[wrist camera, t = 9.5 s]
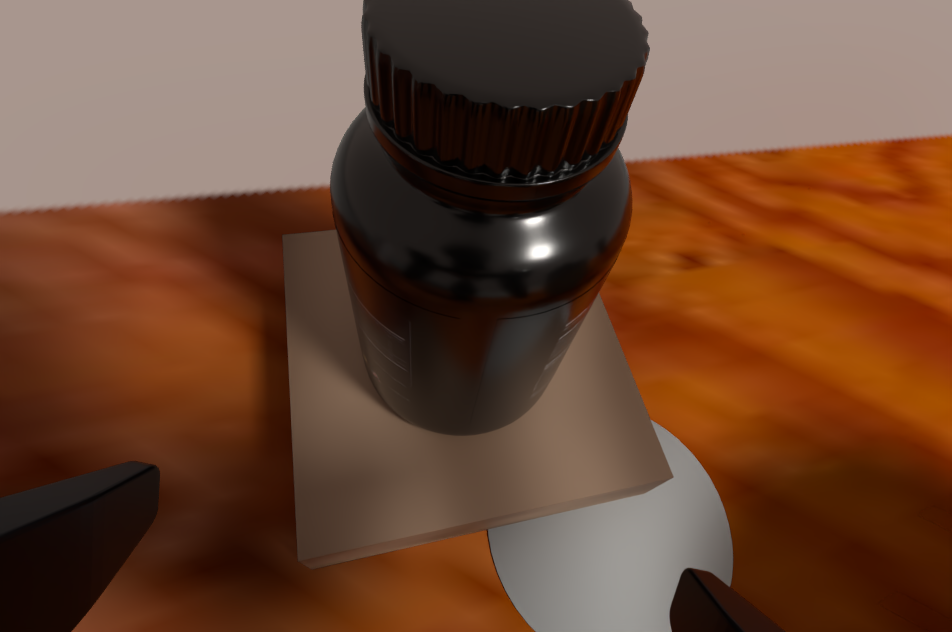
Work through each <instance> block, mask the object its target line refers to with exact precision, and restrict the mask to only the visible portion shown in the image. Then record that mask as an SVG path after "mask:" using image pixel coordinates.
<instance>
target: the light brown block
mask: <svg viewBox="0 0 952 632" xmlns="http://www.w3.org/2000/svg"><path fill="white" fill-rule="evenodd" d="M282 240H283V261H284V282H285V303H286V324H287V345H288V366H289V387H290V408H291V429H292V450H293V471H294V492H295V513H296V534H297V555H298V562H300V563H302V564H303V565H305V566H307V567H309V568H310V569H316V568H320V567H325V566H329V565H334V564H338V563H342V562H347V561H351V560H356V559H360V558H364V557H369V556H373V555H378V554H382V553H386V552H391V551H395V550H399V549H404V548H408V547H413V546H417V545H421V544H426V543H430V542H435V541H439V540H443V539H448V538H452V537H457V536H461V535H465V534H470V533H474V532H479V531H483V530H487V529H491V528H496V527H500V526H505V525H509V524H513V523H518V522H522V521H527V520H531V519H535V518H540V517H544V516H549V515H553V514H557V513H562V512H566V511H571V510H575V509H579V508H584V507H588V506H593V505H597V504H601V503H606V502H610V501H615V500H619V499H623V498H628V497H632V496H637V495H641V494H645V493H647V492H648V491H650V490H652V489H654V488H656V487H657V486H659V485H661V484H663V483H665V482H666V481H668V480H670V479H672V478H674V476H673V474H672V471H671V469H670V467H669V464H668V462H667V459H666V457H665V454H664V452H663V449H662V447H661V444H660V442H659V440H658V437H657V435H656V432H655V430H654V427H653V425H652V422H651V420H650V417H649V415H648V412H647V410H646V408H645V405H644V403H643V400H642V398H641V395H640V393H639V390H638V388H637V385H636V383H635V380H634V378H633V376H632V373H631V371H630V368H629V366H628V363H627V361H626V358H625V356H624V353H623V351H622V349H621V346H620V344H619V341H618V339H617V336H616V334H615V331H614V329H613V326H612V324H611V321H610V319H609V317H608V314H607V312H606V309H605V307H604V304H603V302H602V299H601V297H600V294H599V293H598V295H597V297H596V299H595V301H594V302H593V304H592V306H591V308H590V310H589V312H588V314H587V315H586V317H585V319H584V321H583V323H582V325H581V326H580V328H579V330H578V332H577V334H576V336H575V338H574V339H573V341H572V343H571V345H570V347H569V349H568V350H567V352H566V354H565V356H564V358H563V360H562V361H561V363H560V365H559V367H558V369H557V371H556V373H555V374H554V376H553V378H552V380H551V381H550V383H549V385H548V386H547V388H546V390H545V391H544V393H543V394H542V396H541V397H540V398H539V400H538V401H537V402H536V403H535V405H534V406H533V407H532V408H531V409H530V410H529V411H528V412H527V413H525V414H524V415H523V416H522V417H520V418H519V419H517V420H516V421H514V422H513V423H511V424H509V425H507V426H505V427H503V428H500V429H498V430H495V431H492V432H488V433H484V434H479V435H471V436H452V435H444V434H439V433H435V432H431V431H428V430H425V429H423V428H420V427H418V426H416V425H414V424H412V423H410V422H408V421H407V420H405V419H404V418H402V417H401V416H399V415H398V414H397V413H396V412H394V411H393V410H392V409H391V408H390V407H389V406H388V405H387V404H386V403H385V402H384V401H383V399H382V398H381V397H380V396H379V394H378V393H377V391H376V390H375V388H374V386H373V384H372V382H371V380H370V378H369V376H368V373H367V370H366V367H365V363H364V359H363V356H362V351H361V347H360V342H359V338H358V333H357V328H356V323H355V318H354V314H353V309H352V304H351V299H350V294H349V290H348V285H347V280H346V275H345V271H344V266H343V261H342V256H341V251H340V247H339V242H338V237H337V232H336V230H328V231H317V232H307V233H296V234H286V235H282Z"/></svg>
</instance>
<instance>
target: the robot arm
mask: <svg viewBox="0 0 952 632" xmlns="http://www.w3.org/2000/svg"><path fill="white" fill-rule="evenodd" d="M159 483H160V471H159V468H158V467H157V466H156V465H153V464H148V463H143V462H138V461H130V462H126V463H122V464H119V465H115V466H112V467H108V468H105V469H101V470H98V471H94V472H91V473H87V474H83V475H80V476H76V477H73V478H69V479H66V480H62V481H59V482H55V483H52V484H48V485H44V486H41V487H37V488H34V489H30V490H27V491H23V492H20V493H16V494H13V495H9V496H5V497H2V498H0V632H71V631H72V630H73V629H74V628H75V627H76V626H77V624H78V623H79V622H80V621H81V620H82V618H83V617H84V616H85V615H86V614H87V612H88V611H89V610H90V609H91V608H92V606H93V605H94V604H95V602H96V601H97V600H98V598H99V597H100V596H101V594H102V593H103V592H104V590H105V589H106V587H107V586H108V585H109V583H110V582H111V580H112V579H113V578H114V576H115V575H116V573H117V572H118V571H119V569H120V568H121V566H122V565H123V564H124V562H125V561H126V559H127V558H128V557H129V555H130V554H131V552H132V551H133V550H134V548H135V547H136V546H137V544H138V543H139V541H140V540H141V539H142V537H143V536H144V534H145V533H146V532H147V530H148V529H149V527H150V526H151V524H152V523H153V521H154V519H155V517H156V514H157V510H158V499H159ZM669 619H670V626H671V631H672V632H785V631H784V630H783V629H782V628H780V627H779V626H778V625H777V624H775V623H774V622H773V621H772V620H770V619H769V618H768V617H767V616H765V615H764V614H763V613H762V612H760V611H759V610H758V609H757V608H755V607H754V606H753V605H752V604H750V603H749V602H748V601H747V600H745V599H744V598H743V597H742V596H740V595H739V594H738V593H737V592H735V591H734V590H733V589H732V588H730V587H729V586H728V585H727V584H725V583H724V582H723V581H722V580H720V579H719V578H718V577H717V576H715V575H714V574H713V573H711V572H709V571H705V570H700V569H694V568H686V569H684V570H683V572H682V574H681V576H680V579H679V582H678V585H677V588H676V591H675V594H674V597H673V600H672V603H671V606H670V612H669Z"/></svg>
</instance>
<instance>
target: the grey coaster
mask: <svg viewBox="0 0 952 632" xmlns="http://www.w3.org/2000/svg"><path fill="white" fill-rule="evenodd" d="M651 422H652V425H653V427H654V430H655V432H656V435H657V437H658V440H659V442H660V444H661V447H662V449H663V452H664V454H665V457H666V459H667V462H668V464H669V467H670V469H671V471H672V474H673V476H674V478H672V479H670V480H668V481H666V482H665V483H663V484H661V485H659V486H657V487H656V488H654V489H652V490H650V491H648V492H647V493H645V494H641V495H637V496H632V497H628V498H623V499H619V500H615V501H610V502H606V503H601V504H597V505H593V506H588V507H584V508H579V509H575V510H571V511H566V512H562V513H557V514H553V515H549V516H544V517H540V518H535V519H531V520H527V521H522V522H518V523H513V524H509V525H505V526H500V527H496V528H491V529H488V537H489V542H490V547H491V553H492V557H493V560H494V563H495V566H496V570H497V573H498V575H499V577H500V580H501V582H502V584H503V586H504V589H505V591H506V592H507V594H508V596H509V597H510V599H511V601H512V603H513V604H514V606H515V608H516V609H517V610H518V611H519V613H520V614H521V615H522V617H523V618H524V619H525V621H526V622H527V623H528V624H529V625H530V626H531V627H532V628H533V629H534V630H535V631H536V632H672V631H671V626H670V619H669V612H670V606H671V603H672V600H673V597H674V594H675V591H676V588H677V585H678V582H679V579H680V576H681V574H682V572H683V570H684V569H686V568H694V569H700V570H705V571H709V572H711V573H713V574H714V575H715V576H717V577H718V578H719V579H720V580H722V581H723V582H724V583H725V584H727V585H728V586H729V587H730V586H731V580H732V571H733V549H732V539H731V533H730V527H729V523H728V520H727V516H726V513H725V509H724V507H723V504H722V502H721V499H720V497H719V494H718V492H717V490H716V488H715V486H714V485H713V483H712V481H711V479H710V477H709V476H708V474H707V473H706V471H705V470H704V468H703V467H702V465H701V464H700V463H699V461H698V460H697V459H696V458H695V456H694V455H693V454H692V453H691V452H690V451H689V450H688V449H687V448H686V447H685V446H684V445H683V444H682V443H681V442H680V441H679V440H678V439H677V438H676V437H675V436H673V435H672V434H671V433H670V432H668V431H667V430H666V429H664V428H663V427H661V426H660V425H658V424H657V423H655V422H654V421H652V420H651Z"/></svg>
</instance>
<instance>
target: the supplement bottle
mask: <svg viewBox="0 0 952 632" xmlns="http://www.w3.org/2000/svg"><path fill="white" fill-rule="evenodd" d="M361 26H362V39H363V51H364V62H365V70H366V74H365V78H364V98H365V106H366V107H365V108H364V109H363V110H362V111H361V113H360V114H359V115H358V116H357V117H356V118H355V120H354V121H353V122H352V124H351V125H350V127H349V128H348V130H347V131H346V133H345V134H344V136H343V138H342V140H341V143H340V145H339V147H338V149H337V152H336V155H335V158H334V161H333V166H332V171H331V178H330V179H331V180H330V193H331V203H332V210H333V217H334V222H335V227H336V232H337V237H338V242H339V247H340V251H341V256H342V261H343V266H344V271H345V275H346V280H347V285H348V290H349V294H350V299H351V304H352V309H353V314H354V318H355V323H356V328H357V333H358V338H359V342H360V347H361V351H362V356H363V359H364V363H365V367H366V370H367V373H368V376H369V378H370V380H371V382H372V384H373V386H374V388H375V390H376V391H377V393H378V394H379V396H380V397H381V398H382V399H383V401H384V402H385V403H386V404H387V405H388V406H389V407H390V408H391V409H392V410H393V411H394V412H396V413H397V414H398V415H399V416H401V417H402V418H404V419H405V420H407V421H408V422H410V423H412V424H414V425H416V426H418V427H420V428H423V429H425V430H428V431H431V432H435V433H439V434H444V435H452V436H471V435H479V434H484V433H488V432H492V431H495V430H498V429H500V428H503V427H505V426H507V425H509V424H511V423H513V422H514V421H516V420H517V419H519V418H520V417H522V416H523V415H524V414H525V413H527V412H528V411H529V410H530V409H531V408H532V407H533V406H534V405H535V403H536V402H537V401H538V400H539V398H540V397H541V396H542V394H543V393H544V391H545V390H546V388H547V386H548V385H549V383H550V381H551V380H552V378H553V376H554V374H555V373H556V371H557V369H558V367H559V365H560V363H561V361H562V360H563V358H564V356H565V354H566V352H567V350H568V349H569V347H570V345H571V343H572V341H573V339H574V338H575V336H576V334H577V332H578V330H579V328H580V326H581V325H582V323H583V321H584V319H585V317H586V315H587V314H588V312H589V310H590V308H591V306H592V304H593V302H594V301H595V299H596V297H597V295H598V293H599V291H600V290H601V288H602V286H603V284H604V282H605V280H606V278H607V277H608V275H609V273H610V271H611V269H612V267H613V265H614V264H615V262H616V260H617V258H618V255H619V253H620V251H621V249H622V246H623V244H624V242H625V239H626V237H627V234H628V230H629V227H630V221H631V215H632V192H631V184H630V179H629V175H628V171H627V167H626V165H625V162H624V159H623V157H622V155H621V152H620V150H619V148H618V147H619V144H620V142H621V140H622V137H623V135H624V132H625V129H626V126H627V120H628V112H629V109H630V107H631V104H632V102H633V99H634V97H635V94H636V92H637V89H638V87H639V84H640V82H641V79H642V77H643V74H644V69H645V65H646V62H647V59H648V55H649V51H650V47H649V45H648V43H647V38H648V31H647V30H646V29H645V27H644V26H643V25H642V17H641V16H640V15H639V14H638V13H637V12H636V11H635V10H634V9H633V6H632V3H631V2H630V1H628V0H364V1H363V16H362V25H361Z"/></svg>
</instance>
